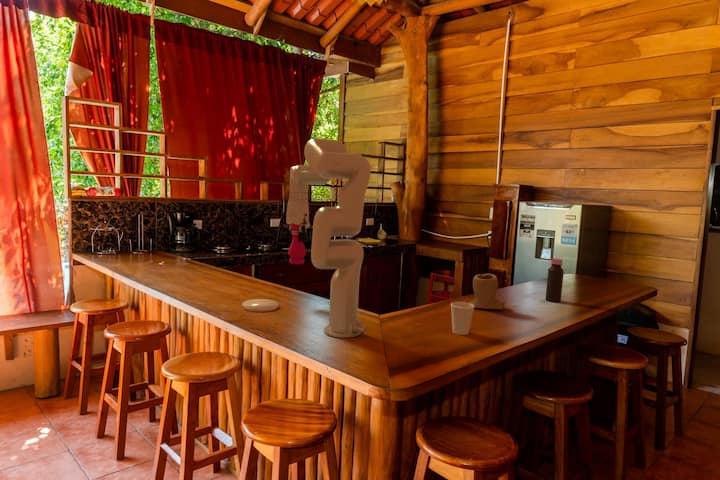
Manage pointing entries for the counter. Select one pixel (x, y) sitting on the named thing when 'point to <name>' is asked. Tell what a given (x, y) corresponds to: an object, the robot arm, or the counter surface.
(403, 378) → the counter surface
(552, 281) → the bottle
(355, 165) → the robot arm
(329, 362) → the counter surface
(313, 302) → the counter surface
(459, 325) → the dixie cup
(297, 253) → the pepper mill
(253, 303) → the disc
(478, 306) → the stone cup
